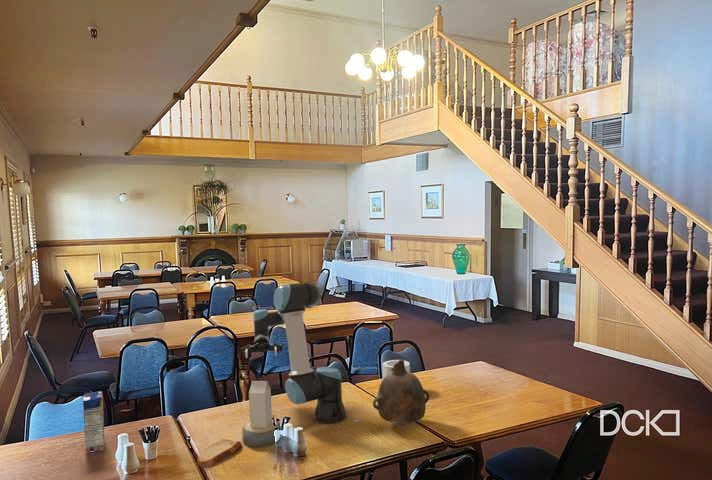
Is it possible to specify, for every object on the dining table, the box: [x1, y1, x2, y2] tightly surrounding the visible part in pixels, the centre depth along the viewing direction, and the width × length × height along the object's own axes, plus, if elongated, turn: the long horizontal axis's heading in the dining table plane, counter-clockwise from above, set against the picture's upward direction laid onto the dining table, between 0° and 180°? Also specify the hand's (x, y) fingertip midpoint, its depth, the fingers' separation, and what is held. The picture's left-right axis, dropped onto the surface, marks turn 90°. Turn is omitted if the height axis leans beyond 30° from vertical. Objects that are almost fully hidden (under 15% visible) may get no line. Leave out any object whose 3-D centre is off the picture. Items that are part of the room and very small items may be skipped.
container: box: [382, 359, 411, 380], centre depth 266 cm, size 16×16×15 cm
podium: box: [241, 420, 281, 448], centre depth 210 cm, size 16×16×6 cm
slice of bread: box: [196, 438, 242, 468], centre depth 197 cm, size 18×18×4 cm
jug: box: [372, 359, 430, 426], centre depth 218 cm, size 24×21×30 cm
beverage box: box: [82, 390, 106, 453], centre depth 208 cm, size 7×11×22 cm, turn 27°
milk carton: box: [248, 380, 273, 428], centre depth 209 cm, size 7×7×19 cm
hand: (261, 353), depth 228 cm, fingers open, 13 cm apart
